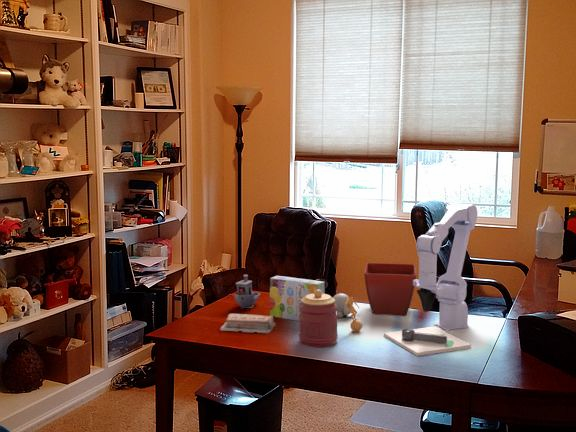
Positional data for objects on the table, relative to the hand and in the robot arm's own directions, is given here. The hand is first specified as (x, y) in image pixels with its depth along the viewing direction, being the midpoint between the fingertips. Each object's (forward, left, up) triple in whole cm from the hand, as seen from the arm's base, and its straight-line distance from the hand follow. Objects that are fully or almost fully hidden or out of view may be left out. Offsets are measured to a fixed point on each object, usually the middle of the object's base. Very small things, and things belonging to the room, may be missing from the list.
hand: (426, 311), depth 216 cm
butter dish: (+52, -33, -10) cm, 63 cm away
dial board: (+2, +3, -9) cm, 10 cm away
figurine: (+19, -16, -10) cm, 27 cm away
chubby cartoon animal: (+16, -35, -10) cm, 40 cm away
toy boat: (+45, -59, -10) cm, 75 cm away
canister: (+35, -10, -10) cm, 38 cm away
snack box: (+32, -37, -10) cm, 50 cm away
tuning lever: (+4, +5, -8) cm, 11 cm away
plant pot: (-5, -33, -10) cm, 35 cm away
